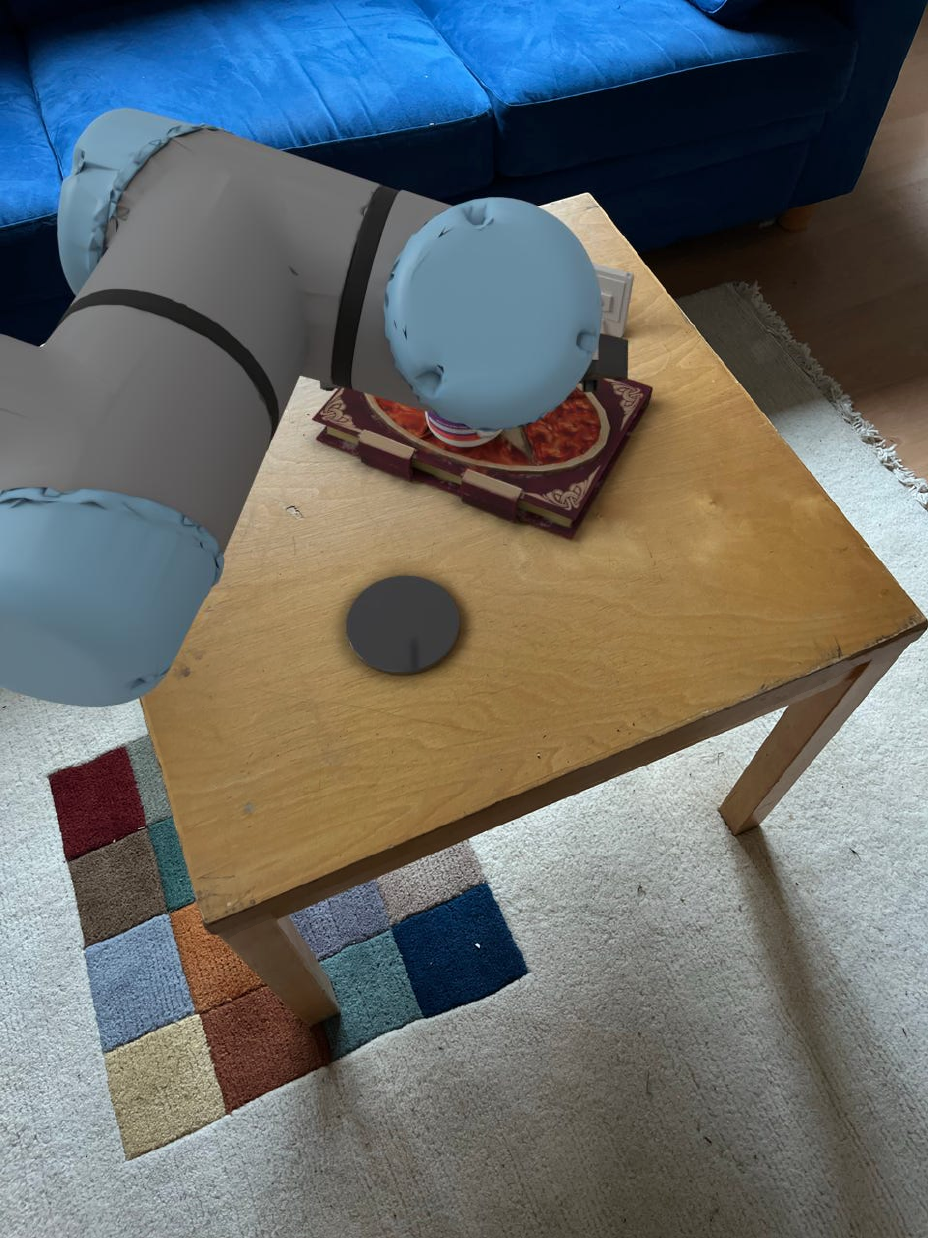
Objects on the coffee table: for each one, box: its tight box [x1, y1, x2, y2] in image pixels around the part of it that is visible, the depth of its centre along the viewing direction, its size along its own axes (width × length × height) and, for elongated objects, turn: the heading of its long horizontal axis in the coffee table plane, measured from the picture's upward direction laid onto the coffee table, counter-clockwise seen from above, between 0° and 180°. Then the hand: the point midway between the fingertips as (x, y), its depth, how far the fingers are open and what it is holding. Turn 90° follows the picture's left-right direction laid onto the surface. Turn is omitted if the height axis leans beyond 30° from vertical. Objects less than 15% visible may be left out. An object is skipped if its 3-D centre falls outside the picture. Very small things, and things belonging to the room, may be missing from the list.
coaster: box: [345, 574, 461, 676], centre depth 76 cm, size 10×10×1 cm
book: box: [311, 377, 654, 540], centre depth 87 cm, size 28×21×5 cm
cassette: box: [592, 262, 635, 338], centre depth 94 cm, size 12×2×8 cm, turn 66°
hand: (470, 370), depth 64 cm, fingers open, 13 cm apart
